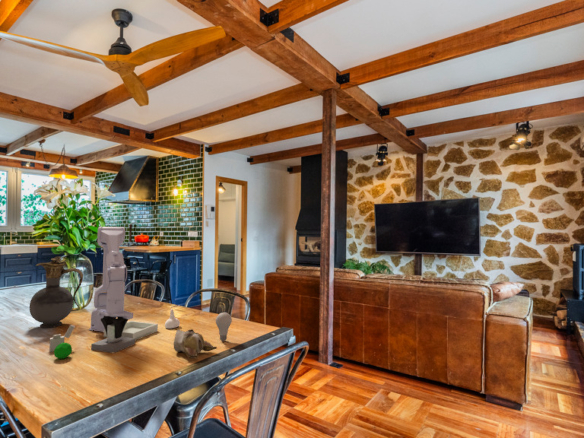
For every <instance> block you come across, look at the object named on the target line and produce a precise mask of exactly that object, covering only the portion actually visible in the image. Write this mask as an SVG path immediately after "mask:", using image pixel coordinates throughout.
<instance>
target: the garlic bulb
mask: <svg viewBox="0 0 584 438" xmlns="http://www.w3.org/2000/svg"><path fill="white" fill-rule="evenodd" d="M169 312H170V314H169V318H168V319H166V321H165V323H164V327H165V328H166V329H169V330H170V329H175V328H179V326H180V323H181V322H180V320H179V318H177V317H175V312H174V309H173V308H171V309H170V311H169Z"/></svg>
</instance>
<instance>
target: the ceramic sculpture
mask: <svg viewBox="0 0 584 438" xmlns="http://www.w3.org/2000/svg"><path fill="white" fill-rule="evenodd" d="M173 349H174V351H175V352H176V353H180V352H181V353H182V352H183V353H184V354H185V355H186V356H187V357H188V358H189V359H195V358H198V355H199V353H201V352H202V351H203V352H211V351H214V350H216V349H218V347H217V346H214V345H213V344H211V343H210V342H209V341H207V340H205V339H204V337H203V335H202V334H200V333H198V332H195V330H194V329H193V328H191V329H187V330H186V331H183V330H180V329H176V332H175V336H174V340H173Z"/></svg>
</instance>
